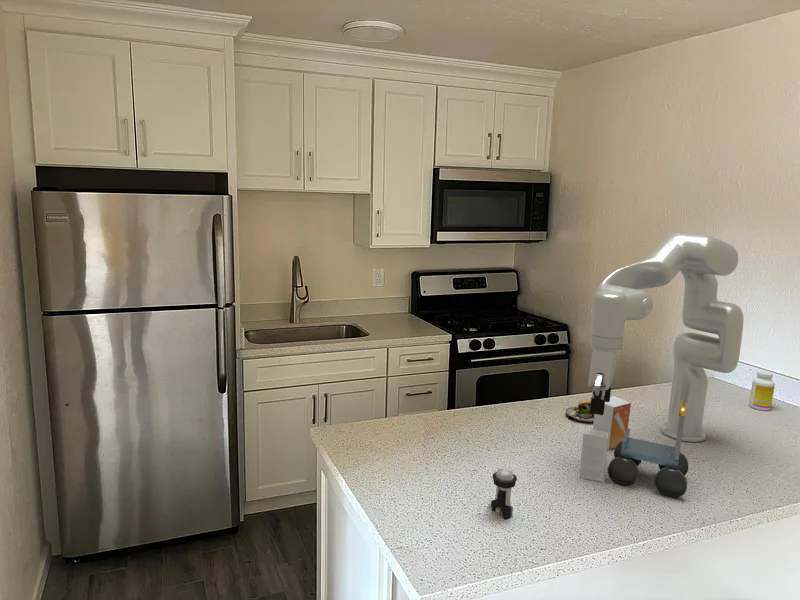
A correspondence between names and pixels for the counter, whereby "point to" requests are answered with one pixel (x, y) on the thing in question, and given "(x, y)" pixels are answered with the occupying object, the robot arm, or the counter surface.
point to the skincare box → (594, 455)
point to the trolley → (652, 461)
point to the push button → (503, 493)
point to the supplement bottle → (762, 391)
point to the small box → (613, 420)
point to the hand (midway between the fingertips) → (599, 407)
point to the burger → (581, 411)
